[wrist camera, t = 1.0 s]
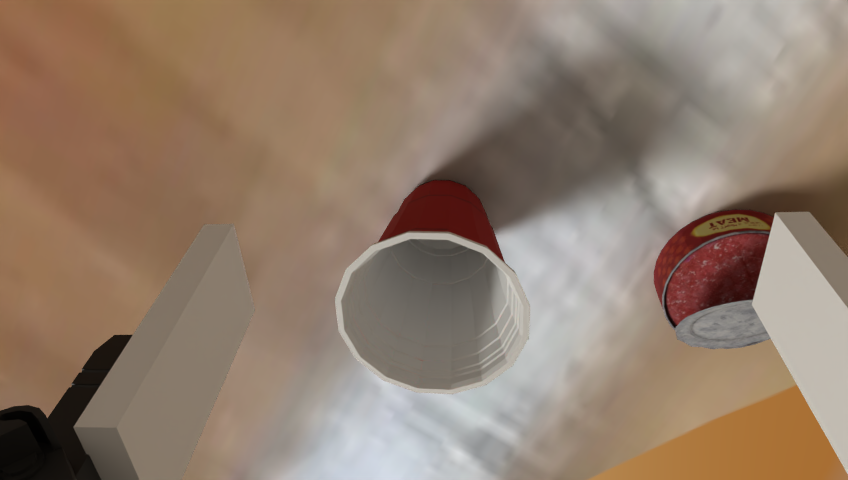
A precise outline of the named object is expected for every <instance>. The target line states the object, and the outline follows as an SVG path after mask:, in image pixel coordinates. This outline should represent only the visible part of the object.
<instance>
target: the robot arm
mask: <svg viewBox="0 0 848 480" xmlns="http://www.w3.org/2000/svg"><path fill="white" fill-rule="evenodd" d="M752 306H753V308H754V310H755V311H756V313H757V315H758V317H759V318H760V320H761V322H762V324H763V325H764V327H765V329H766V331H767V333H768V334H769V336H770V338H771V340H772V341H773V343H774V345H775V347H776V348H777V350H778V352H779V354H780V355H781V357H782V359H783V361H784V363H785V364H786V366H787V368H788V370H789V371H790V373H791V375H792V377H793V378H794V380H795V382H796V384H797V385H798V387H799V389H800V391H801V392H802V394H803V396H804V398H805V400H806V401H807V403H808V405H809V407H810V408H811V410H812V412H813V414H814V415H815V417H816V419H817V421H818V422H819V424H820V426H821V428H822V430H823V431H824V433H825V435H826V437H827V438H828V440H829V442H830V444H831V445H832V447H833V449H834V451H835V452H836V454H837V456H838V458H839V460H840V461H841V463H842V465H843V467H844V468H845V470H846V472H847V474H848V257H847V256H846V255H845V253H844V252H843V251H842V250H841V249H840V248H839V246H838V245H837V244H836V243H835V242H834V240H833V239H832V238H831V237H830V236H829V234H828V233H827V232H826V231H825V230H824V229H823V227H822V226H821V225H820V224H819V223H818V221H817V220H816V219H815V218H814V217H813V215H812V214H811V213H810V212H775V216H774V220H773V224H772V228H771V231H770V235H769V239H768V243H767V247H766V251H765V255H764V259H763V263H762V267H761V271H760V275H759V279H758V282H757V286H756V290H755V294H754V298H753V302H752ZM254 311H255V308H254V303H253V299H252V295H251V291H250V287H249V283H248V279H247V275H246V271H245V267H244V263H243V259H242V255H241V251H240V247H239V243H238V239H237V235H236V231H235V227H234V224H204V226H203V227H202V229H201V230H200V232H199V233H198V235H197V237H196V238H195V240H194V241H193V243H192V244H191V246H190V247H189V249H188V250H187V252H186V254H185V255H184V257H183V258H182V260H181V261H180V263H179V264H178V266H177V267H176V269H175V271H174V272H173V274H172V275H171V277H170V278H169V280H168V281H167V283H166V285H165V286H164V288H163V289H162V291H161V292H160V294H159V295H158V297H157V298H156V300H155V302H154V303H153V305H152V306H151V308H150V309H149V311H148V312H147V314H146V316H145V317H144V319H143V320H142V322H141V323H140V325H139V326H138V328H137V329H136V331H135V333H134V334H133V335H114V336H113V337H111V338H110V339H109V340H108V341H106V342H105V343H104V344H103V345H101V346H100V347H99V348H98V349H96V350H95V351H94V352H93V354H92V355H91V357H90V358H89V360H88V361H87V362H86V364H85V365H84V367H83V368H82V373H79V374H78V375H77V377H76V378H75V380H74V381H73V383H72V387H71V388H68V390H67V391H66V393H65V394H64V395H63V397H62V398H61V400H60V401H59V403H58V404H57V405H56V407H55V408H54V410H53V411H52V413H51V414H50V415H49V417H48V418H47V417H46V415H45V414H44V413H43V412H42V411H41V410H40V408H36V407H33V406H29V405H26V406H14V407H11V408H8V409H4V410H1V411H0V480H182V477H183V475H184V473H185V470H186V468H187V466H188V464H189V461H190V459H191V457H192V454H193V452H194V450H195V447H196V445H197V443H198V440H199V438H200V436H201V434H202V431H203V429H204V427H205V424H206V422H207V420H208V417H209V415H210V413H211V410H212V408H213V406H214V404H215V401H216V399H217V397H218V394H219V392H220V390H221V387H222V385H223V383H224V380H225V378H226V376H227V374H228V371H229V369H230V367H231V364H232V362H233V360H234V357H235V355H236V353H237V350H238V348H239V346H240V344H241V341H242V339H243V337H244V334H245V332H246V330H247V327H248V325H249V323H250V320H251V318H252V316H253V314H254Z"/></svg>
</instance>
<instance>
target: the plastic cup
mask: <svg viewBox="0 0 848 480" xmlns="http://www.w3.org/2000/svg"><path fill="white" fill-rule="evenodd" d="M335 305H336V313H337V322H338V330H339V332H340V334H341V336H342V337H343V339H344V341H345V342H346V344H347V345H348V347H349V349H350V350H351V352H352V354H353V355H354V357H355V359H356V360H358V361H359V362H360V363H362V364H363V365H364V366H365V367H367V368H368V369H369V370H370V371H372V372H373V373H374V374H376V375H377V376H378V377H379V378H381V379H382V380H384V381H386V382H389V383H392V384H395V385H397V386H400V387H403V388H406V389H408V390H411V391H414V392H418V393H438V394H455V393H458V392H462V391H466V390H469V389H473V388H477V387H481V386H484V385H487V384H488V383H489V382H491V381H492V380H494V379H495V378H496V377H498V376H499V375H501V374H502V373H503V372H505V371H506V370H507V369H509V368H510V367H512V366H513V364H514V363H515V361H516V359H517V358H518V356H519V354H520V352H521V351H522V349H523V347H524V345H525V344H526V342H527V340H528V338H529V321H530V304H529V302H528V300H527V298H526V295H525V293H524V291H523V289H522V286H521V284H520V282H519V280H518V278H517V275H516V273H515V272H514V270H512V269H511V268H510V267H509V266H508V265H507V264H506V263H505V262H504V259H503V256H502V253H501V251H500V248H499V245H498V242H497V239H496V236H495V234H494V231H493V229H492V227H491V225H490V223H489V221H488V218H487V215H486V212H485V210H484V208H483V206H482V204H481V202H480V199H479V198H478V197H477V196H476V195H475V194H474V193H473V192H472V191H471V190H469V189H468V188H467V187H466V186H464V185H462V184H459V183H456V182H453V181H450V180H433V181H431V182H428V183H426V184H423V185H420V186H418V187H417V188H416V189H415V190H414V191H413V192H412V193H411V194H410V195H409V196H408V197H407V198H405V199H404V201H403V203H402V205H401V207H400V209H399V211H398V212H397V213H396V214H395V215H394V217H393V218H392V220H391V222H390V223H389V225H388V226H387V228H386V230H385V231H384V233H383V235H382V236H381V238H380V240H379V241H378V242H377V243H374V244H373V245H372V246H370V247H369V248H368V249H367V250H366V251H365V252H364V253H363V254H362V255H361V256H360V257H359V258H358V259H357V260H355V261H354V262H353V263H352V264H351V265H350V266H349V267H348V268H347V269H346V271H345V273H344V276H343V279H342V282H341V284H340V287H339V290H338V292H337V295H336V298H335Z"/></svg>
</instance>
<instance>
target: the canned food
mask: <svg viewBox="0 0 848 480" xmlns="http://www.w3.org/2000/svg"><path fill="white" fill-rule="evenodd" d="M773 220H774V217H772V216H770V215H768V214H765V213H762V212H757V211H753V210H738V209H735V210H727V211H720V212H716V213H713V214H709V215H706V216H704V217H702V218H699V219H697V220H695V221H693V222H691V223H690V224H688V225H687V226H685V227H684V228H682V229H681V230H679V231H678V232H677V233H676V234H675V235H674V236H673V237H672V238H671V239H670V240H669V241H668V242H667V244H666V245H665V246H664V248H663V249H662V250H661V253H660V255H659V257H658V259H657V261H656V265H655V270H654V284H655V288H656V291H657V294H658V297H659V300H660V302H661V305H662V308H663V310H664V314H665V317H666V319H667V321H668V322H669V324H670V326H671V327H672V328H673V329H674V330H675V331H676V335H677V339H678V340H680V341H683V342H685V343H686V344H688V345H690V346H693V347H704V348H710V349H718V348H723V349H730V348H740V347H745V346H750V345H754V344H757V343H760V342H763V341H765V340H768V339H771V338H770V336H769V334H768V333H767V331H766V329H765V327H764V325H763V324H762V322H761V320H760V318H759V317H758V315H757V313H756V311H755V310H754V308H753V306H752V302H753V298H754V294H755V290H756V286H757V282H758V279H759V275H760V271H761V267H762V263H763V259H764V255H765V251H766V247H767V243H768V239H769V235H770V231H771V228H772V224H773Z"/></svg>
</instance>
